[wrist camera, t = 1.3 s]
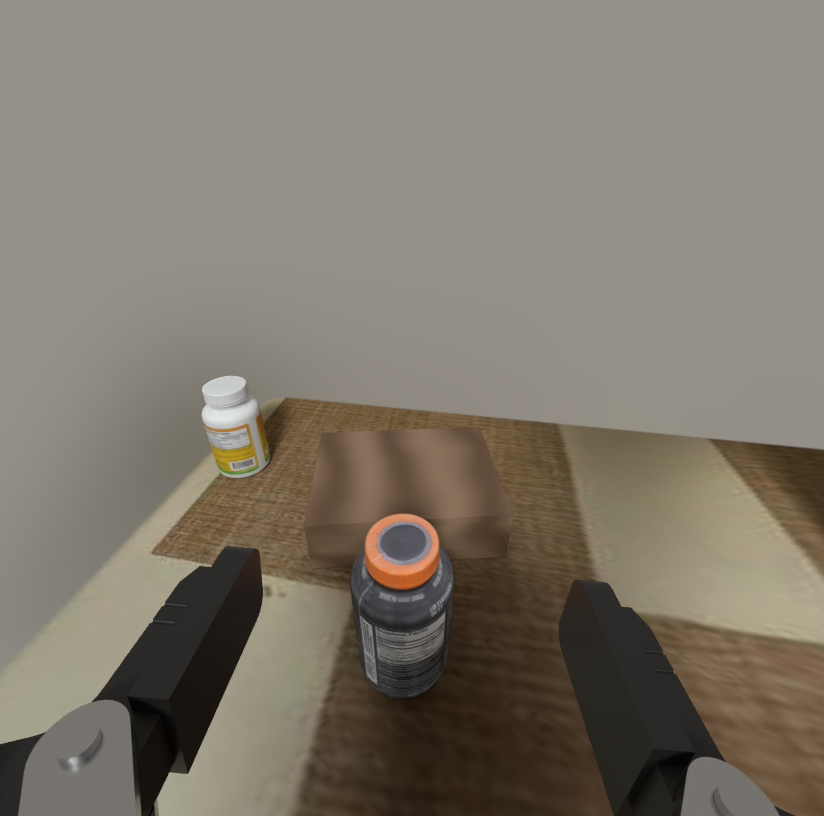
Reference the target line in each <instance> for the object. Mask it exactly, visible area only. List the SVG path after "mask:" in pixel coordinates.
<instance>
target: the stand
mask: <svg viewBox="0 0 824 816" xmlns="http://www.w3.org/2000/svg"><path fill="white" fill-rule="evenodd" d="M394 514H412V515H416V516H419V517H421V518H423V519H425V520H426V521H428V522H429V523H430V524H431V525H432V526H433V527H434V529H435V530H436V532H437V535H438V538H439V545H440V546H441V547H442V548H443V550H444V551H445V552H446V554H447V555H448V557H449V559H450V560H460V559H476V558H492V557H505V555H506V550H507V545H508V540H509V535H510V530H511V525H512V520H513V515H514V514H513V512H512V509H511V507H510V504H509V501H508V499H507V496H506V494H505V491H504V489H503V486H502V484H501V481H500V478H499V476H498V473H497V471H496V468H495V466H494V463H493V461H492V458H491V455H490V453H489V450H488V448H487V445H486V443H485V440H484V438H483V435H482V433H481V430H480V427H465V428H439V429H412V430H386V431H359V432H333V433H322V435H321V440H320V445H319V450H318V456H317V461H316V466H315V471H314V476H313V482H312V487H311V492H310V497H309V503H308V508H307V513H306V518H305V523H304V528H305V534H306V539H307V544H308V549H309V555H310V560H311V565H312V569H315V568H331V567H347V566H353V565H354V562H355V560H356V558H357V557H358V555H359V553H360V552H361V551H362V550H363V549H364V548H365V540H366V536H367V534H368V532H369V530H370V529H371V528H372V526H373V525H374V524H375V523H377V522H378V521H379V520H381V519H383V518H385V517H387V516H390V515H394Z"/></svg>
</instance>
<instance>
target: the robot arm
mask: <svg viewBox="0 0 824 816" xmlns="http://www.w3.org/2000/svg"><path fill="white" fill-rule="evenodd" d="M262 599H263V587H262V576H261V565H260V555H259V551H258V549H254V548H243V547H232V546H227V547H225V548H224V549H223V550H222V551H221V553H220V554H219V556H218V558H217V559H216V561H215V562H214V564H213V565H212V567H204V566H199V567H198V568H197V569H196V570H194V571H193V572H192V573H191V574H189V575H188V576H187V577H185V578H184V579H183V580H182V581H180V582H179V584H178V585H177V586H176V588H175V589H174V590H173V592H172V593H171V595H170V596H169V597H168V599H167V600H166V602H165V605H164V606H162V607H161V609H160V610H159V611H158V613H157V614H156V616H155V617H154V618H153V622H152V623H150V624H149V625H148V627H147V628H146V630H145V631H144V632H143V634H142V635H141V636H140V638H139V639H138V641H137V642H136V643H135V645H134V646H133V648H132V649H131V650H130V652H129V653H128V655H127V656H126V657H125V659H124V660H123V662H122V663H121V664H120V666H119V667H118V669H117V670H116V671H115V673H114V674H113V676H112V677H111V678H110V680H109V681H108V682H107V684H106V685H105V687H104V688H103V689H102V691H101V692H100V693H99V694H98V696H97V697H96V698H95V699H94V700H93V701H92V702H91V703H88V704H86V705H83V706H81V707H79V708H77V709H75V710H73V711H72V712H70V713H68V714H67V715H65V716H64V717H63V718H61V719H60V720H59V721H57V722H56V723H55V724H54V725H53V726H52V727H51V728H50V729H48V730H47V732H45V733H42V734H39V735H36V736H32V737H28V738H24V739H20V740H16V741H12V742H8V743H4V744H0V816H159V813H158V803H157V797H158V795H159V793H160V791H161V788H162V786H163V784H164V782H165V780H166V778H167V776H168V774H169V772H173V773H183V774H188V773H189V770H190V768H191V766H192V764H193V762H194V759H195V757H196V755H197V753H198V750H199V748H200V746H201V744H202V741H203V739H204V737H205V735H206V732H207V730H208V728H209V726H210V724H211V721H212V719H213V717H214V715H215V712H216V710H217V708H218V706H219V703H220V701H221V699H222V697H223V694H224V692H225V690H226V688H227V686H228V683H229V681H230V679H231V677H232V674H233V672H234V670H235V668H236V665H237V663H238V661H239V659H240V656H241V654H242V652H243V650H244V648H245V645H246V643H247V641H248V639H249V636H250V634H251V632H252V630H253V627H254V625H255V623H256V621H257V618H258V616H259V613H260V609H261V605H262ZM559 640H560V646H561V650H562V653H563V656H564V659H565V662H566V665H567V669H568V672H569V675H570V678H571V681H572V684H573V688H574V691H575V694H576V697H577V700H578V703H579V707H580V710H581V713H582V716H583V719H584V722H585V726H586V729H587V732H588V735H589V738H590V741H591V745H592V748H593V751H594V754H595V757H596V760H597V763H598V767H599V770H600V773H601V776H602V779H603V782H604V786H605V789H606V792H607V795H608V798H609V801H610V805H611V808H612V811H613V814H614V816H794V815H792V814H790V813H788V812H785V811H783V810H781V809H779V808H777V807H775V806H774V805H773V804H772V803H771V801H770V800H769V799H768V797H767V796H766V795H765V794H764V793H763V791H762V790H761V789H760V788H759V787H758V786H757V785H756V784H755V783H754V782H753V781H752V780H751V779H750V778H748V777H747V776H746V775H745V774H744V773H742V772H741V771H740V770H738V769H737V768H735V767H733V766H732V765H730V764H728V763H726V761H725V760H724V758H723V757H722V755H721V754H720V752H719V750H718V749H717V747H716V745H715V743H714V741H713V740H712V738H711V736H710V734H709V732H708V731H707V729H706V727H705V725H704V723H703V722H702V720H701V718H700V716H699V715H698V713H697V711H696V709H695V707H694V706H693V704H692V702H691V700H690V698H689V697H688V695H687V693H686V691H685V689H684V688H683V686H682V684H681V682H680V681H679V679H678V677H677V675H676V674H674V673H673V668H672V666H671V664H670V663H669V661H668V659H667V657H666V655H663V652H662V651H663V650H662V648H661V646H660V645H659V643H658V641H657V639H656V638H655V636H654V634H653V632H652V630H651V629H650V627H649V626H648V625H647V624H646V623H645V622H644V621H643V620H642V619H641V618H640V617H639V616H638V615H637V614H636V613H635V612H634V611H633V609H632V608H628V607H621V605H620V603H619V601H618V599H617V597H616V595H615V594H614V592H613V590H612V588H611V586H610V585H609V584H608V583H605V582H594V581H584V580H575V581H574V582H573V583H572V585H571V588H570V592H569V595H568V598H567V601H566V604H565V607H564V610H563V613H562V616H561V619H560V623H559Z"/></svg>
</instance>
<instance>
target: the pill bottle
mask: <svg viewBox="0 0 824 816" xmlns="http://www.w3.org/2000/svg"><path fill="white" fill-rule="evenodd" d="M350 585H351V595H352V603H353V609H354V618H355V625H356V633H357V640H358V648H359V655H360V662H361V666H362V669H363V672H364V674H365V676H366V678H367V679H368V681H369V682H370V683H371V685H372V686H373V687H374V688H375V689H377V690H378V691H379V692H381V693H383V694H385V695H387V696H389V697H393V698H400V699H403V698H412V697H416V696H419V695H421V694H423V693H425V692H426V691H428V690H429V689H430V688H432V687H433V685H434V684H435V683H436V682H437V681H438V680H439V678H440V676H441V675H442V673H443V671H444V668H445V665H446V661H447V656H448V646H449V639H450V627H451V616H452V604H453V593H454V571H453V567H452V564H451V561H450V559H449V557H448V555H447V554H446V552H445V551H444V550H443V548H442V547H441V546H440V545H439V538H438V535H437V532H436V530H435V529H434V527H433V526H432V525H431V524H430V523H429V522H428V521H426V520H425V519H423V518H421V517H419V516H416V515H412V514H394V515H390V516H387V517H385V518H383V519H381V520H379V521H378V522H377V523H375V524H374V525H373V526H372V528H371V529H370V530H369V532H368V534H367V536H366V540H365V548H364V549H363V550H362V551H361V552H360V553H359V555H358V557H357V558H356V560H355V562H354V565H353V568H352V572H351V579H350Z"/></svg>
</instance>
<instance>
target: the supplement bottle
mask: <svg viewBox="0 0 824 816" xmlns="http://www.w3.org/2000/svg"><path fill="white" fill-rule="evenodd" d="M202 392H203V395H204V399H205V402H206V403H207V405H206V406H205V407H204V409H203V411H202V419H203V422H204V425H205V429H206V432H207V435H208V438H209V441H210V444H211V447H212V450H213V454H214V457H215V460H216V463H217V466H218V469H219V471H220V472H221V473H222V474H223V475H225V476H227V477H231V478H243V477H248V476H251V475H254V474H256V473H258V472H260V471H261V470H263V469H264V468H265V467H266V466H267V464H268V463H269V461H270V451H269V446H268V442H267V438H266V433H265V429H264V424H263V420H262V415H261V411H260V407H259V404H258V402H257V400H256V399H255V398H253V397H252V396H249V390H248V387H247V383H246V381H245V379H243V378H241V377H238V376H225V377H220V378H216V379H214V380H211V381H209V382H208V383H206V384H205V385H204V386H203V388H202Z"/></svg>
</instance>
